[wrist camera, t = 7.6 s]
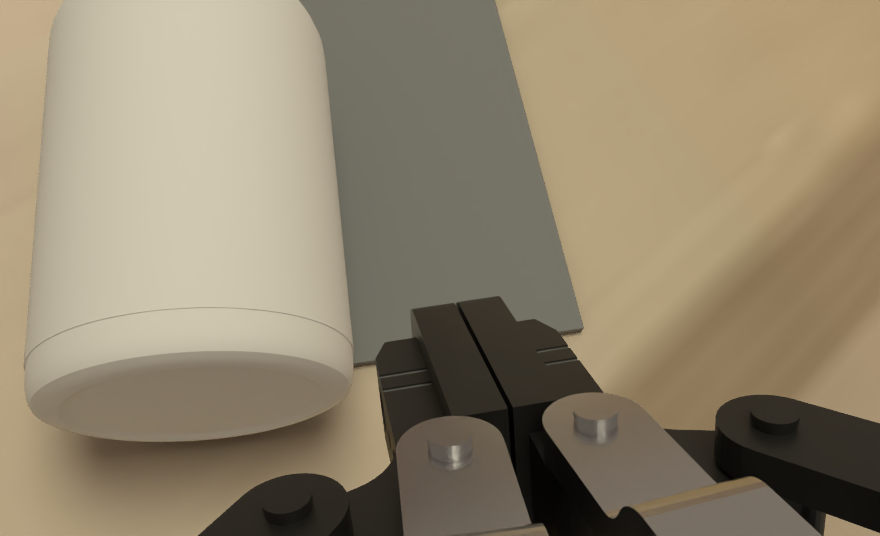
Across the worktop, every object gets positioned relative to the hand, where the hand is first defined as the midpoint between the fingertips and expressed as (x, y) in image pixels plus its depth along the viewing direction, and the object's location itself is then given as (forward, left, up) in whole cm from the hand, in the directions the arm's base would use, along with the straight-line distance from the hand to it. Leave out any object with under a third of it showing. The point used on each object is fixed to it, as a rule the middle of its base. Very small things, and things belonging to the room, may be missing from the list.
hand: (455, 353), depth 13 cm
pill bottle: (-5, -3, -7) cm, 9 cm away
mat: (-9, +9, -12) cm, 17 cm away
